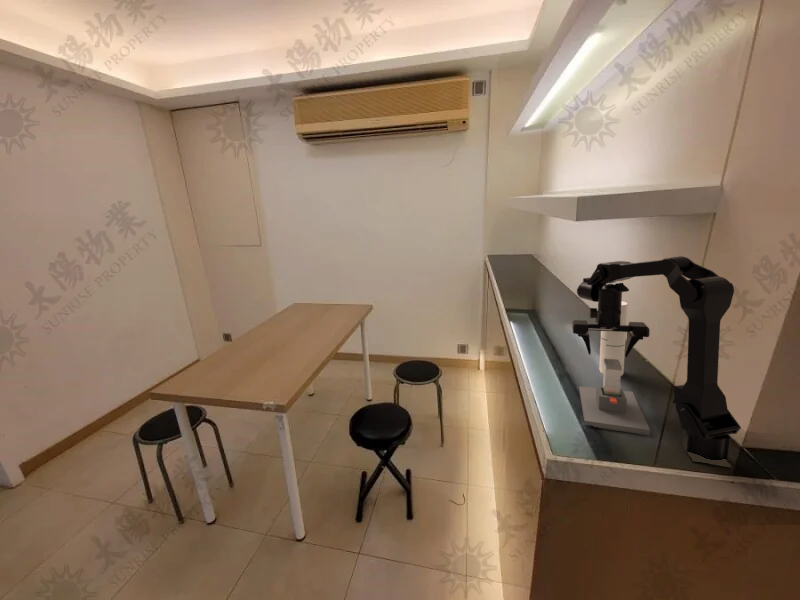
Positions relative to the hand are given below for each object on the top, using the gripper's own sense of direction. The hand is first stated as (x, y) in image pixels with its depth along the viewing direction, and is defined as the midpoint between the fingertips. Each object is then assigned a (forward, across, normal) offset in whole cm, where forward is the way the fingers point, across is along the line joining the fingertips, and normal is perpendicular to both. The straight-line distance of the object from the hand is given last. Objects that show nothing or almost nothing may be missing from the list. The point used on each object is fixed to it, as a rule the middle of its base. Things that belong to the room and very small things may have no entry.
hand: (607, 355), depth 98 cm
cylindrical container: (+13, -4, -18) cm, 23 cm away
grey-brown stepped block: (+8, 0, +9) cm, 12 cm away
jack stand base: (+13, 0, +9) cm, 16 cm away
